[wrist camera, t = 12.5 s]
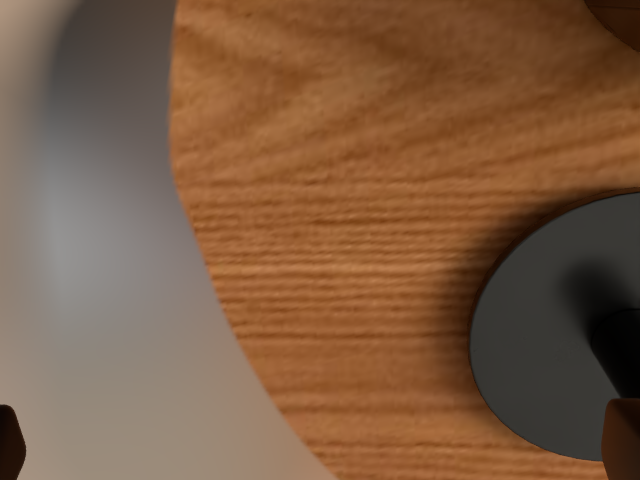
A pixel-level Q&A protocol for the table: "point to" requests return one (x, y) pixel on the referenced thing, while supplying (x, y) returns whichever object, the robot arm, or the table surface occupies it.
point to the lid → (562, 324)
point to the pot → (619, 18)
